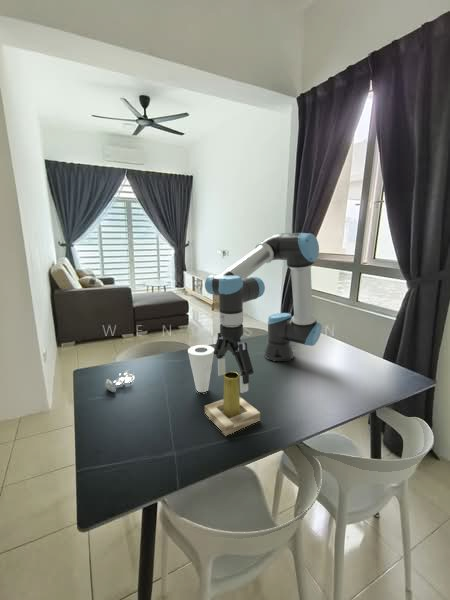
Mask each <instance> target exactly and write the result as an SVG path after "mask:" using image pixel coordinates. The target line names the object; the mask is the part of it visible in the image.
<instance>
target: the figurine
mask: <svg viewBox="0 0 450 600" xmlns="http://www.w3.org/2000/svg"><path fill="white" fill-rule="evenodd" d="M130 371H131V369H127V370H126V371H125V370H123V371H122V373H123V374H122V373H121V372H120V373H119V374H118V375H117V378H116V379H115V380H113V381H111V380H110V379H108V378H107V379H106V380H105V388H106V387H107V388H110V389H112V390H115V391H116V392H117V389H116V387H114V386H117V385H120V384H122V383H123V384H124V383H130V382H132V381H133V380H134V381H135V375H136V372H133V373H131V374H130V373H128V372H130ZM120 376H121V377H120ZM134 381H133V382H134ZM113 383H115V385H113ZM107 388H106V389H107Z"/></svg>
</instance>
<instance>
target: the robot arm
mask: <svg viewBox="0 0 450 600" xmlns="http://www.w3.org/2000/svg"><path fill="white" fill-rule="evenodd" d="M319 244H320V243H319V241H318V238H317V237H316V236H315V235H314V234H313V233H307V232H306V233H305V232H292V233H291V232H290V233H288V232H287V233H277V234H274V235H271V236H269V237H267V238H265V239H264V240H262V241H260V242H259V243H257V244H256V246H255V247H254V249H253V250H251V251H250V252H249V253H247V254H246V255H244V256H243V257H242V258H241V259H239V260H238V261H236V262H235V263H233V264H232V265H231V266H229V267H227V269H225V270H223V271H222V272H221V273H220V274H210V275H208V276H207V277H206V278H205V282H204V289H205V291H206V293H208V294H209V295H213V296H218V301H219V303H218V305H219V323H220V325H219V332H218V333H217V339H216V343H215V346H214V355H216V356H215V357H216V359H217V375H218V377H221V376H224V374H225V373H226V371H227V370H226V357H225V356H226V353H227V352H228V351H230V352H231V355H232V356H234V358H235V360H236V362H237V365H238V368H239V370H240V373H239V394H240V393H241V394H243V393H246V392H249V383H250V375H252V374H254V369H253V366H252V362H251V361H252V360H251V358H250V353H249V351H248V344H247V342H242V341H241V337H242V336H243V334H244V325H243V323H244V312H243V311H244V307H243V306H244V305H243V304H244V303H246V302H249V301H253V300H257V299H258V298H260V297H262V296H263V295H264V294H265V289H266V286H265V283H264V281H263V279H261V278H260V277H257V276H253V277H252V276H251V275H252V274H254V273H255V272H256V271H257V270H258V269H260V268H261V267H262V266H263V265H265V264H269V263H272V261H277V260H278V261H286V266H287V268H289V269H290V277H291V289H292V302H293V303H292V304H293V315H292V314H291V313H289V312H280V313H279V312H278V313H273V314H271V315H269V316H268V318H267V319H268V321H267V343H266V347H265V349H264V352H263V356H264V355H265V356H266V357H267V358H269V359H271V360H275V361H287V362H290V361H292V360H293V359H294V352H293V349H292V348H293V347H292V345H291V342H293V343H297V344H300V345H304V346H310V347H313V346H315V345H317V343H318V341H319V339H320V336H321V334H322V324H321V322H317V316H316V315H315V314H314V313H313V312H314V310H313V309H314V308H313V289H312V288H313V287H312V270H311V269H312V267H313V265H314V264H315V262H316V261H317V260H318V258H319V253H320V245H319ZM250 276H251V277H250ZM230 352H229V353H230ZM291 359H292V360H291Z"/></svg>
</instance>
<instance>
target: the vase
mask: <svg viewBox="0 0 450 600" xmlns="http://www.w3.org/2000/svg"><path fill="white" fill-rule="evenodd" d="M239 396H240V373H238V372H236V371H228V372H226V373H225V374H224V375H223V399H224V409H223V413H224V415H226V416H228V417H235V416H237V415H239V414H240V412H241V411H240V399H239Z"/></svg>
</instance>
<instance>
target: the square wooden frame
mask: <svg viewBox="0 0 450 600" xmlns="http://www.w3.org/2000/svg"><path fill="white" fill-rule="evenodd" d="M239 399H240V411H241V412H240V414H239V415H237V416H235V417H228V416H226V415H224V413H223V409H224V398H223V399H220V400H217V401H213V402H211V403H209V404H206V405H204V415H205V414H206V415H207V416H208V417H209V418H208V417H207V416H206V415H205V416H206V417H207V418H208V420H211V421H212V422H213V423H214V424H215V425H216V426H217V427H218V428H219V429H220V430H221V431H222V432H221V431H220V430H219V429H218V428H217V427H216V426H215V425H214V424H213V423H212V422H211V421H210V422H211V423H212V424H213V425H214V426H215V427H216V428H217V429H218V430H219V431H220V432H221V434H223V435H224V436H225V437H226V436H227V435H229V434H231V435H233V434H235V433H234V432H236V431H238V430H240V429H242V428H244V429H246V428H245V427H247V426H249V425H251V424H253V423H256V422H258V421H260V422H261V412H260V411H259V410H258V409H257V408H255V407H254V406H253V405H251V403H249V402H247V401H246V400H245V399H244V398H242V397H241V396H240V395H239ZM258 423H259V422H258ZM256 424H257V423H256ZM253 425H254V424H253ZM251 426H252V425H251ZM249 427H250V426H249ZM247 428H248V427H247ZM242 430H243V429H242ZM240 431H241V430H240ZM238 432H239V431H238ZM232 433H233V434H232ZM236 433H237V432H236ZM229 436H230V435H229ZM227 437H228V436H227Z"/></svg>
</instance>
